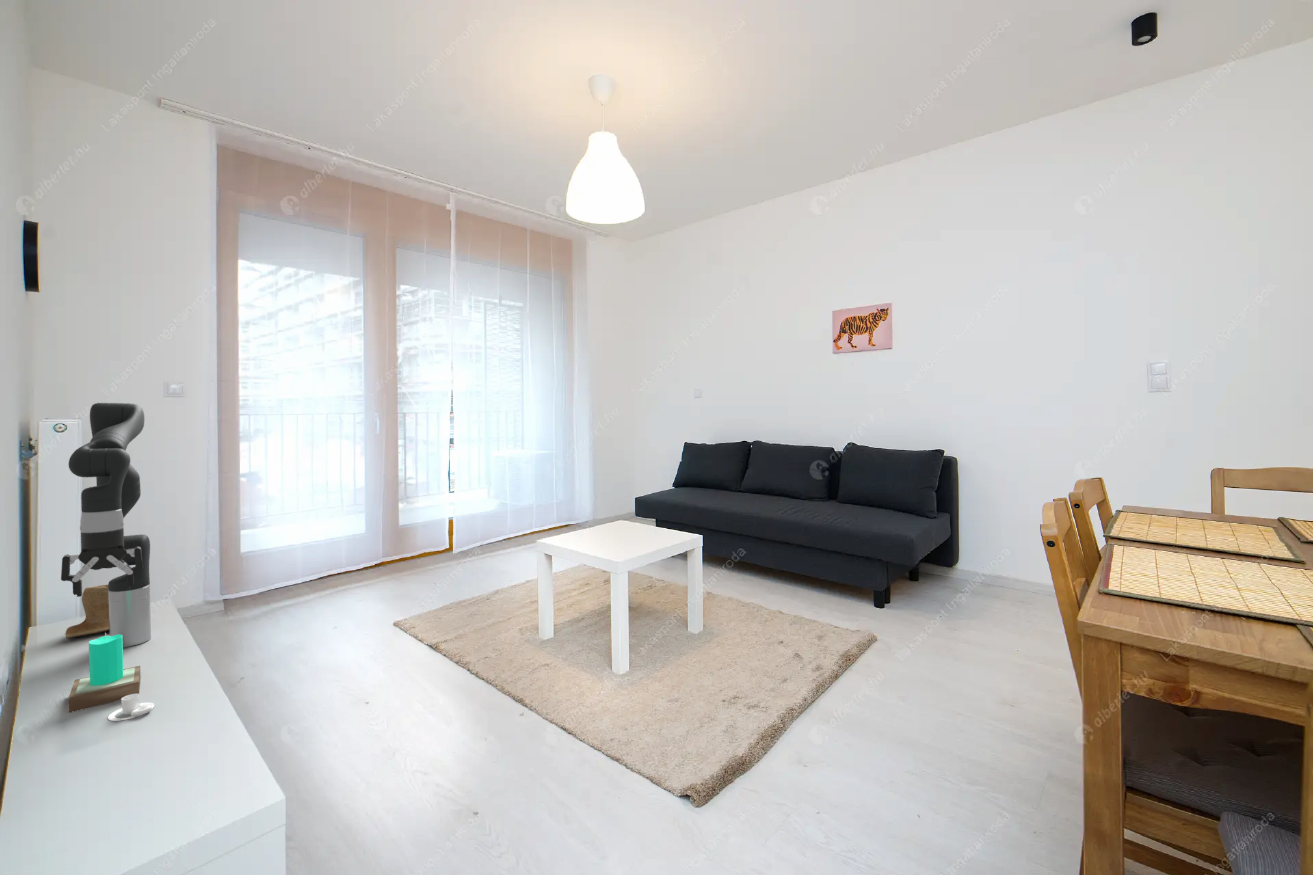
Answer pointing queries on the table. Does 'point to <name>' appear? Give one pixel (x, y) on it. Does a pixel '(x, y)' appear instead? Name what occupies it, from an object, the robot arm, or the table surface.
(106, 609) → the brown suede boot
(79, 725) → the table surface
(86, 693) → the framed mirror
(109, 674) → the candle
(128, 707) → the teacup and saucer
